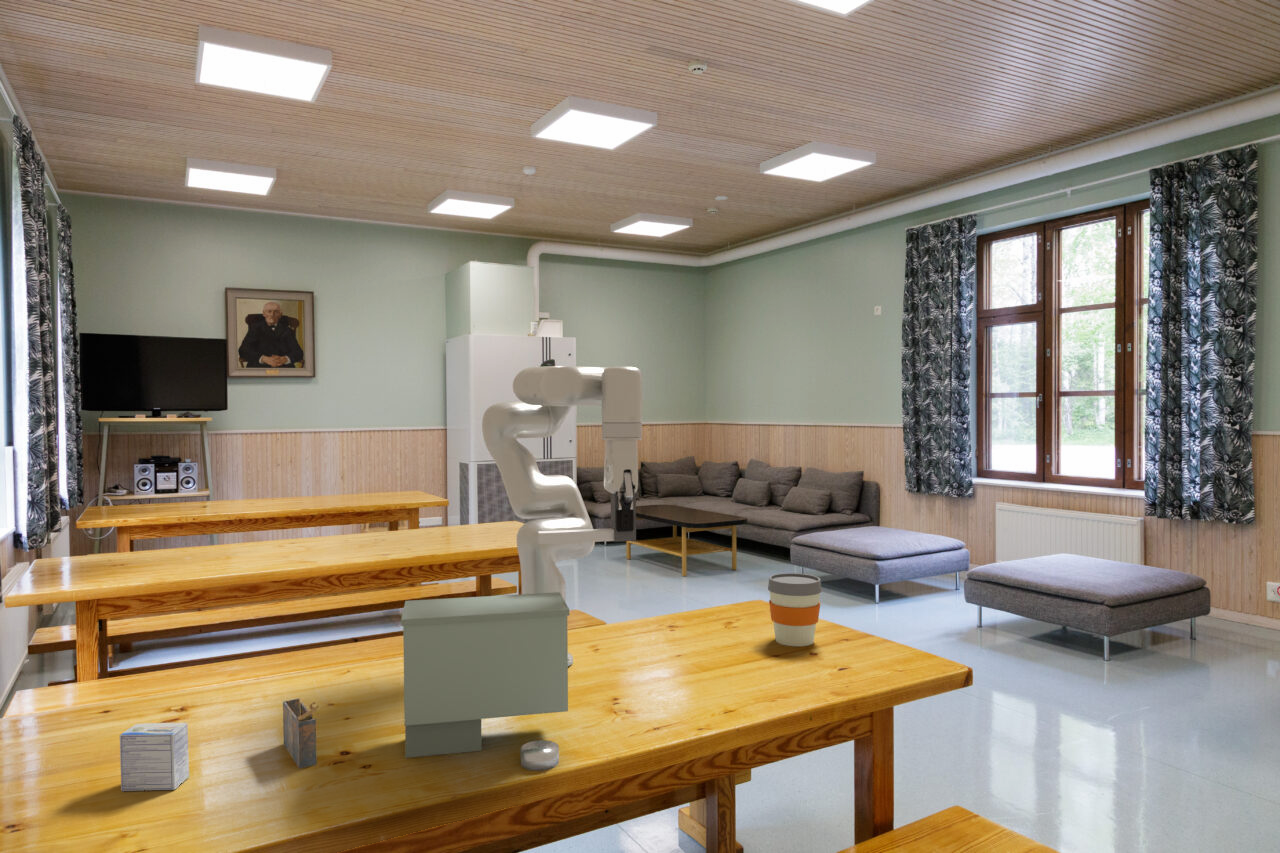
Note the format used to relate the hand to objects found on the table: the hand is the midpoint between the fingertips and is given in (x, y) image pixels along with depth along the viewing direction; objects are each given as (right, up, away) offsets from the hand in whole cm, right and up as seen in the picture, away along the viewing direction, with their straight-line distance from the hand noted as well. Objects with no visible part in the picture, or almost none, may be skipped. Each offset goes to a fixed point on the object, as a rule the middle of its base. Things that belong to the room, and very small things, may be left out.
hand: (622, 528), depth 156 cm
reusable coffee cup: (+40, -32, +41) cm, 66 cm away
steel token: (-13, -34, -25) cm, 44 cm away
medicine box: (-69, -35, -32) cm, 84 cm away
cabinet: (-23, -34, -17) cm, 44 cm away
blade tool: (-7, -2, -1) cm, 7 cm away
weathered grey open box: (-52, -35, -22) cm, 66 cm away
